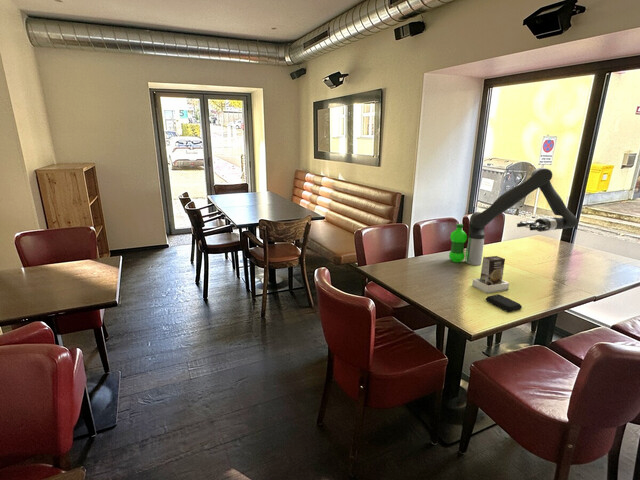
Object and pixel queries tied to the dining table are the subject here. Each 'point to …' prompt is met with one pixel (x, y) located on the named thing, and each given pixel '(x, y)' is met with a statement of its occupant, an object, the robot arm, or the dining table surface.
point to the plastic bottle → (457, 244)
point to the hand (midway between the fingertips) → (523, 226)
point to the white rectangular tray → (490, 286)
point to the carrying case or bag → (503, 303)
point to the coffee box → (492, 270)
